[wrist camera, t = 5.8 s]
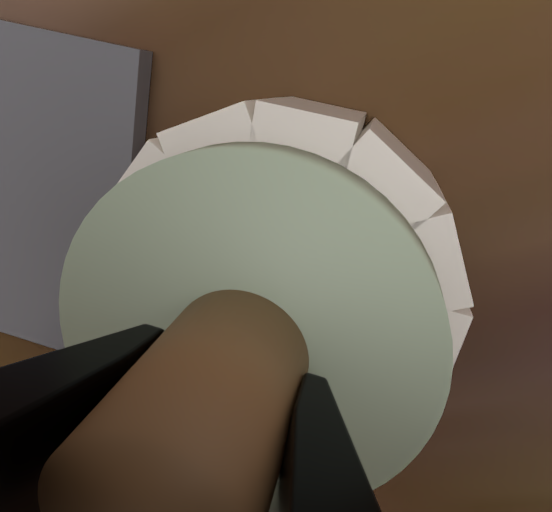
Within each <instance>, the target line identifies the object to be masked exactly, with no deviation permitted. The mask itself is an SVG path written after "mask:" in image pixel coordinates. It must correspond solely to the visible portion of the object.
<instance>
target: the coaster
mask: <svg viewBox="0 0 552 512" xmlns="http://www.w3.org/2000/svg"><path fill="white" fill-rule="evenodd" d="M152 55H153V52H152V51H147V50H142V49H138V48H133V47H128V46H124V45H119V44H114V43H110V42H105V41H100V40H95V39H91V38H86V37H81V36H77V35H72V34H67V33H63V32H58V31H53V30H48V29H44V28H39V27H34V26H30V25H25V24H20V23H16V22H11V21H6V20H1V19H0V332H3V333H6V334H9V335H12V336H15V337H19V338H22V339H25V340H28V341H31V342H34V343H38V344H41V345H44V346H47V347H50V348H53V349H56V350H59V349H62V348H65V346H64V342H63V337H62V332H61V326H60V315H59V291H60V279H61V275H62V270H63V266H64V261H65V258H66V255H67V252H68V250H69V247H70V245H71V242H72V239H73V237H74V235H75V234H76V232H77V230H78V228H79V227H80V225H81V223H82V221H83V220H84V218H85V217H86V216H87V214H88V213H89V212H90V211H91V209H92V208H93V207H94V206H95V204H96V203H97V202H98V201H99V200H100V199H101V198H102V197H103V196H104V195H105V194H106V193H107V192H108V191H110V190H111V189H112V188H113V187H114V186H115V185H116V184H117V183H118V182H119V180H120V179H121V177H122V176H123V175H124V173H125V172H126V170H127V169H128V167H129V166H130V165H131V163H132V162H133V160H134V159H135V158H136V156H137V155H138V153H139V152H140V151H141V149H142V148H143V146H144V145H145V137H146V125H147V113H148V102H149V90H150V78H151V66H152Z"/></svg>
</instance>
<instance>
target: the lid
mask: <svg viewBox="0 0 552 512" xmlns="http://www.w3.org/2000/svg"><path fill="white" fill-rule="evenodd" d="M59 315H60V326H61V332H62V337H63V342H64V346H65V348H66V347H69V346H72V345H76V344H79V343H82V342H86V341H89V340H92V339H96V338H99V337H102V336H106V335H109V334H112V333H115V332H119V331H122V330H125V329H129V328H132V327H135V326H139V325H142V324H149V325H152V326H156V327H159V328H162V329H164V332H163V333H162V334H161V335H160V337H159V338H158V339H157V340H156V341H155V342H154V343H153V344H152V345H151V346H150V347H149V349H148V350H147V351H146V352H145V353H144V354H143V355H142V356H141V357H140V358H139V359H138V361H137V362H136V363H135V364H134V365H133V366H132V367H131V368H130V369H129V370H128V371H127V373H126V374H125V375H124V376H123V377H122V378H121V379H120V380H119V381H118V382H117V384H116V385H115V386H114V387H113V388H112V389H111V390H110V391H109V392H108V393H107V394H106V396H105V397H104V398H103V399H102V400H101V401H100V402H99V403H98V404H97V405H96V406H95V408H94V409H93V410H92V411H91V412H90V413H89V414H88V415H87V416H86V417H85V418H84V420H83V421H82V422H81V423H80V424H79V425H78V426H77V427H76V428H75V429H74V431H73V432H72V433H71V434H70V435H69V436H68V437H67V438H66V439H65V440H64V441H63V443H62V444H61V445H60V446H59V447H58V448H57V449H56V450H55V451H54V452H53V453H52V455H51V456H50V457H49V459H48V460H47V461H46V463H45V464H44V467H43V469H42V471H41V474H40V478H39V482H38V502H39V507H40V511H41V512H269V509H270V505H271V502H272V498H273V495H274V491H275V488H276V484H277V481H278V477H279V474H280V470H281V466H282V462H283V457H284V452H285V446H286V440H287V434H288V429H289V425H290V421H291V417H292V413H293V409H294V405H295V402H296V399H297V395H298V392H299V389H300V386H301V382H302V379H303V376H304V374H305V373H311V374H315V375H318V376H322V377H325V378H326V379H327V381H328V383H329V386H330V388H331V390H332V393H333V395H334V398H335V400H336V403H337V405H338V407H339V410H340V412H341V415H342V417H343V420H344V422H345V424H346V427H347V429H348V432H349V434H350V437H351V439H352V441H353V444H354V446H355V449H356V451H357V454H358V456H359V458H360V461H361V463H362V466H363V468H364V470H365V473H366V475H367V478H368V480H369V483H370V485H371V487H372V490H374V489H376V488H378V487H380V486H381V485H383V484H385V483H386V482H388V481H389V480H390V479H392V478H393V477H394V476H396V475H397V474H398V473H400V472H401V471H402V470H403V469H404V468H405V467H406V466H407V465H408V464H409V463H410V462H411V461H412V460H413V459H414V458H415V457H416V456H417V455H418V454H419V453H420V452H421V450H422V449H423V447H424V446H425V445H426V443H427V442H428V440H429V439H430V438H431V436H432V435H433V433H434V431H435V429H436V427H437V425H438V423H439V420H440V418H441V416H442V414H443V411H444V408H445V405H446V402H447V398H448V395H449V392H450V386H451V378H452V371H453V340H452V335H451V329H450V324H449V318H448V313H447V309H446V305H445V301H444V297H443V294H442V290H441V286H440V283H439V280H438V277H437V274H436V271H435V268H434V266H433V263H432V261H431V259H430V257H429V255H428V253H427V251H426V249H425V247H424V245H423V243H422V241H421V239H420V238H419V236H418V235H417V233H416V232H415V231H414V229H413V228H412V226H411V225H410V224H409V222H408V221H407V219H406V218H405V217H404V216H403V215H402V213H401V212H400V211H399V210H398V209H397V208H396V207H395V206H394V205H393V204H392V203H391V202H390V201H389V200H388V198H387V197H385V196H384V195H383V194H382V193H381V192H379V191H378V190H377V189H376V188H374V187H373V186H372V185H371V184H370V183H368V182H367V181H366V180H365V179H363V178H361V177H360V176H358V175H356V174H355V173H353V172H352V171H350V170H348V169H347V168H345V167H343V166H342V165H340V164H338V163H335V162H333V161H331V160H329V159H326V158H324V157H322V156H320V155H317V154H315V153H312V152H308V151H305V150H301V149H298V148H295V147H291V146H286V145H280V144H273V143H267V142H229V143H221V144H213V145H209V146H205V147H201V148H198V149H194V150H191V151H187V152H184V153H181V154H178V155H175V156H172V157H169V158H166V159H163V160H160V161H158V162H155V163H153V164H151V165H149V166H147V167H144V168H142V169H140V170H138V171H136V172H135V173H133V174H131V175H130V176H128V177H127V178H125V179H124V180H122V181H121V182H119V183H118V184H116V185H115V186H114V187H113V188H112V189H111V190H110V191H108V192H107V193H106V194H105V195H104V196H103V197H102V198H101V199H100V200H99V201H98V202H97V203H96V204H95V206H94V207H93V208H92V209H91V211H90V212H89V213H88V214H87V216H86V217H85V218H84V220H83V221H82V223H81V225H80V227H79V228H78V230H77V232H76V234H75V235H74V237H73V239H72V242H71V245H70V247H69V250H68V252H67V255H66V258H65V261H64V266H63V270H62V275H61V279H60V291H59Z"/></svg>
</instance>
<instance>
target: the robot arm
mask: <svg viewBox="0 0 552 512" xmlns="http://www.w3.org/2000/svg"><path fill="white" fill-rule="evenodd" d="M163 332H164V329H162V328H159V327H156V326H152V325H149V324H142V325H139V326H135V327H132V328H129V329H125V330H122V331H119V332H115V333H112V334H109V335H106V336H102V337H99V338H96V339H92V340H89V341H86V342H82V343H79V344H76V345H72V346H69V347H66V348H62V349H59V350H56V351H52V352H49V353H46V354H43V355H39V356H36V357H33V358H29V359H26V360H23V361H19V362H16V363H13V364H9V365H6V366H3V367H0V512H41V511H40V507H39V502H38V482H39V478H40V474H41V471H42V469H43V467H44V464H45V463H46V461H47V460H48V459H49V457H50V456H51V455H52V453H53V452H54V451H55V450H56V449H57V448H58V447H59V446H60V445H61V444H62V443H63V441H64V440H65V439H66V438H67V437H68V436H69V435H70V434H71V433H72V432H73V431H74V429H75V428H76V427H77V426H78V425H79V424H80V423H81V422H82V421H83V420H84V418H85V417H86V416H87V415H88V414H89V413H90V412H91V411H92V410H93V409H94V408H95V406H96V405H97V404H98V403H99V402H100V401H101V400H102V399H103V398H104V397H105V396H106V394H107V393H108V392H109V391H110V390H111V389H112V388H113V387H114V386H115V385H116V384H117V382H118V381H119V380H120V379H121V378H122V377H123V376H124V375H125V374H126V373H127V371H128V370H129V369H130V368H131V367H132V366H133V365H134V364H135V363H136V362H137V361H138V359H139V358H140V357H141V356H142V355H143V354H144V353H145V352H146V351H147V350H148V349H149V347H150V346H151V345H152V344H153V343H154V342H155V341H156V340H157V339H158V338H159V337H160V335H161V334H162V333H163ZM269 512H381V509H380V507H379V504H378V502H377V500H376V497H375V495H374V492H373V490H372V487H371V485H370V483H369V480H368V478H367V475H366V473H365V470H364V468H363V466H362V463H361V461H360V458H359V456H358V454H357V451H356V449H355V446H354V444H353V441H352V439H351V437H350V434H349V432H348V429H347V427H346V424H345V422H344V420H343V417H342V415H341V412H340V410H339V407H338V405H337V403H336V400H335V398H334V395H333V393H332V390H331V388H330V386H329V383H328V381H327V379H326V378H325V377H322V376H318V375H315V374H311V373H305V374H304V376H303V379H302V382H301V386H300V389H299V392H298V395H297V399H296V402H295V405H294V409H293V413H292V417H291V421H290V425H289V429H288V434H287V440H286V446H285V452H284V457H283V462H282V466H281V470H280V474H279V477H278V481H277V484H276V488H275V491H274V495H273V498H272V502H271V505H270V509H269Z"/></svg>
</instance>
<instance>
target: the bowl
mask: <svg viewBox="0 0 552 512" xmlns="http://www.w3.org/2000/svg"><path fill="white" fill-rule="evenodd" d="M366 114H367V113H366V112H361V111H357V110H352V109H347V108H343V107H338V106H334V105H329V104H324V103H320V102H315V101H311V100H306V99H301V98H297V97H292V96H291V97H278V98H268V99H258V100H247V101H242V102H240V103H237V104H234V105H232V106H229V107H226V108H223V109H221V110H218V111H215V112H213V113H210V114H207V115H204V116H202V117H199V118H196V119H194V120H191V121H188V122H186V123H183V124H180V125H177V126H175V127H172V128H169V129H167V130H164V131H161V132H159V133H156V134H157V136H158V138H153V139H148V141H147V142H146V143H145V145H144V146H143V148H142V149H141V151H140V152H139V153H138V155H137V156H136V158H135V159H134V160H133V162H132V163H131V165H130V166H129V167H128V169H127V170H126V172H125V173H124V175H123V176H122V177H121V179H120V180H119V182H121V181H122V180H124V179H125V178H127V177H128V176H130V175H131V174H133V173H135V172H136V171H138V170H140V169H142V168H144V167H147V166H149V165H151V164H153V163H155V162H158V161H160V160H163V159H166V158H169V157H172V156H175V155H178V154H181V153H184V152H187V151H191V150H194V149H198V148H201V147H205V146H209V145H213V144H221V143H229V142H267V143H273V144H280V145H286V146H291V147H295V148H298V149H301V150H305V151H308V152H312V153H315V154H317V155H320V156H322V157H324V158H326V159H329V160H331V161H333V162H335V163H338V164H340V165H342V166H343V167H345V168H347V169H348V170H350V171H352V172H353V173H355V174H356V175H358V176H360V177H361V178H363V179H365V180H366V181H367V182H368V183H370V184H371V185H372V186H373V187H374V188H376V189H377V190H378V191H379V192H381V193H382V194H383V195H384V196H385V197H387V198H388V200H389V201H390V202H391V203H392V204H393V205H394V206H395V207H396V208H397V209H398V210H399V211H400V212H401V213H402V215H403V216H404V217H405V218H406V219H407V221H408V222H409V224H410V225H411V226H412V228H413V229H414V231H415V232H416V233H417V235H418V236H419V238H420V239H421V241H422V243H423V245H424V247H425V249H426V251H427V253H428V255H429V257H430V259H431V261H432V263H433V266H434V268H435V271H436V274H437V277H438V280H439V283H440V286H441V290H442V294H443V297H444V301H445V305H446V309H447V313H448V318H449V324H450V329H451V335H452V340H453V366H454V364H455V361H456V359H457V356H458V354H459V351H460V349H461V346H462V344H463V341H464V339H465V336H466V334H467V331H468V329H469V327H470V324H471V322H472V319H473V315H472V312H471V310H470V307H474V304H473V300H472V296H471V291H470V287H469V283H468V279H467V274H466V270H465V266H464V261H463V257H462V253H461V249H460V244H459V240H458V236H457V231H456V227H455V223H454V219H453V214H452V212H451V210H450V208H449V206H448V204H447V202H446V200H445V198H444V196H443V194H442V192H441V190H440V188H439V186H438V184H437V182H436V180H435V178H434V177H433V175H432V173H431V171H430V170H429V169H428V168H427V167H426V166H425V165H424V164H423V163H422V162H421V161H420V160H419V159H418V158H417V157H416V156H415V155H414V154H413V153H412V152H411V151H409V150H408V149H407V148H406V147H405V146H404V145H403V144H402V143H401V142H400V141H399V140H398V139H397V138H396V137H395V136H394V135H393V134H392V133H391V132H390V131H389V130H388V129H387V128H386V127H385V126H384V125H383V124H382V123H381V122H379V121H378V120H377V119H376V118H375V117H374V118H373V120H372V121H371V122H370V123H369V124H368V125H367V126H366V127H365V128H364V129H363V126H364V122H365V118H366ZM119 182H118V183H119ZM118 183H117V184H118Z"/></svg>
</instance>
